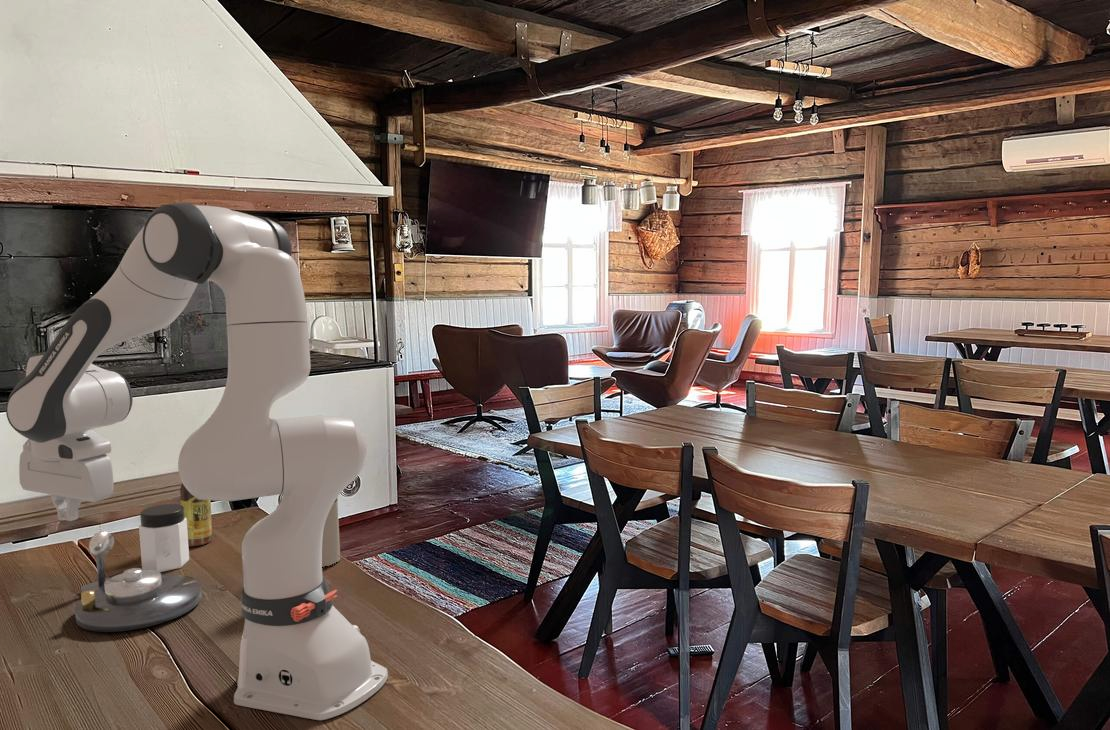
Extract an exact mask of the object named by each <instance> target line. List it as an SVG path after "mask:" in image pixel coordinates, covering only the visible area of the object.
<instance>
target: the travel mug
mask: <svg viewBox="0 0 1110 730" xmlns="http://www.w3.org/2000/svg"><path fill="white" fill-rule="evenodd" d="M338 500H339V499H338V497H337V499H336V500H335V502H334V503H333V505H332V507H331V509H330V511H329V513H328V516H327V518H326V521H325V525H324V530H323V539H322V567H323V566H328V565H331V564H333V565H335V564H337V563H338V562H339V561H340V560H341V549H340V548H341V545H340V543H341V542H340V528H339V527H340V526H339V525H340V524H339V523H340V521H339V503H338ZM334 553H335V554H334ZM338 555H339V556H340V557H339V556H338ZM336 562H337V563H336ZM334 563H335V564H334ZM331 566H332V565H331ZM328 567H329V566H328ZM323 568H324V567H323Z"/></svg>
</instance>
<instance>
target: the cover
mask: <svg viewBox="0 0 1110 730" xmlns="http://www.w3.org/2000/svg"><path fill="white" fill-rule="evenodd" d="M161 575H162V572H159V571H156V570H143V569H142V567H133V568H129V569H125V570H124V571H123V572H122V573H119V574H117V575H114V576H112V577H109V578H110V579H108V580H107V581H106V582H105V584H104V586H105V598H106V602H107V603H108V604H111V605H131V604H137V603H141V602H144V601H147V600H150V599H152V598H154V597H156V596H158V595H159V594H160V593H161V592H162V581H161Z"/></svg>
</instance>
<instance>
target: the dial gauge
mask: <svg viewBox="0 0 1110 730" xmlns="http://www.w3.org/2000/svg"><path fill="white" fill-rule="evenodd" d="M113 547H115V537H114V535H113V534H112V533H111V532H107V531H99V532H96V533H95V534H93V536H92V537H91V538H90V540H89V542H88V548H89V551H90V553H91V554H93V555H95V558H96V569H97V571H96V573H97V580H95V581H92V582H90V583H88V584H85V585H81V593H82V592H84V591H87V590H94V591H95V590H98V589H100V588H102V587H105V586H104V584H105V582H106V581H107V580H108V579H110V578H111V577H106V574H105V573H106V571H105V559H104V556H105V555H107V554H108V553H110V552H111V551H112V550H113Z"/></svg>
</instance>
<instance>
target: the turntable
mask: <svg viewBox="0 0 1110 730" xmlns="http://www.w3.org/2000/svg"><path fill="white" fill-rule="evenodd" d="M161 581H162V592H161V593H160V594H159V595H158V596H156V597H154V598H152V599H150V600H147V601H144V602H141V603H137V604H131V605H111V604H108V603H107V602H106V598H105V587H102V588H100V589H98V590H95V591H94V590H87V591H84V592H82V591H81V593H80V597H81V598H80V599H79V601H78V602H77V603H76V604H75V607H74V614H75V615H74V616H75V621H76V624H77V625H78V627H80V628H82V629H84V630H88V631H92V632H99V633H103V632H104V633H116V632H117V633H118V632H125V631H126V632H127V631H134V630H138V629H144V628H148V627H152V626H155V625H160V624H163V623H166V622H168V621H171V620H173V619H176V618H178V617H180V616H182V615H184V614H186V613H188V612H190V611H191V610H192V609H194V608H195V607H196V606H198V604H199V603H200V601H201V599H202V586H201V582H200V581H199V580H198V579H197V578H195V577H192V576H189V575H184V574H171V573H169V574H168V573H167V574H165V573H164V574H163V573H162V574H161Z"/></svg>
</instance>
